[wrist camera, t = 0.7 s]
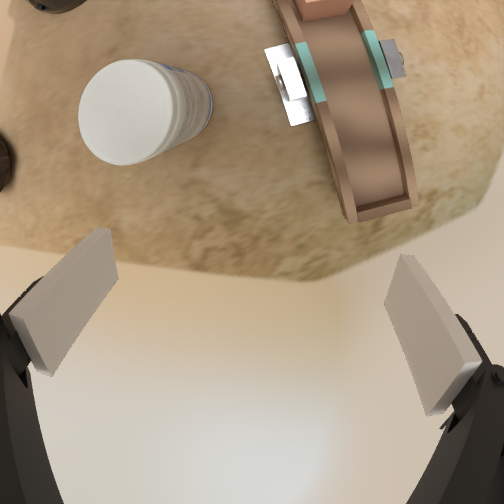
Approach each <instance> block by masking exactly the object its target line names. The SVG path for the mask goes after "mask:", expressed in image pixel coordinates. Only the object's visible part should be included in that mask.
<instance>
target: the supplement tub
mask: <svg viewBox="0 0 504 504" xmlns="http://www.w3.org/2000/svg"><path fill="white" fill-rule="evenodd" d="M212 106H213V102H212V96H211V93H210V90H209V88H208V86H207V85H206V83H205V82H204V81H203V80H202V79H201V78H200V77H199V76H197V75H195V74H194V73H191V72H189V71H186V70H182V69H179V68H176V67H172V66H168V65H165V64H161V63H157V62H153V61H148V60H142V59H129V60H120V61H117V62H114V63H111V64H109V65H107V66H105V67H104V68H102V69H101V70H100V71H99V72H97V73H96V74H95V75H94V76H93V78H92V79H91V80H90V81H89V83H88V84H87V86H86V88H85V90H84V92H83V94H82V97H81V100H80V104H79V110H78V122H79V128H80V132H81V135H82V138H83V140H84V142H85V144H86V145H87V147H88V148H89V149H90V151H91V152H92V153H93V154H94V155H96V156H97V157H98V158H100V159H101V160H103V161H105V162H107V163H110V164H114V165H131V164H135V163H140V162H143V161H146V160H148V159H150V158H153V157H155V156H157V155H159V154H161V153H163V152H165V151H167V150H169V149H171V148H173V147H176V146H178V145H180V144H182V143H184V142H187V141H189V140H191V139H192V138H194V137H195V136H197V135H198V134H199V133H200V132H201V131H202V130H203V129H204V128H205V127H206V125H207V123H208V121H209V119H210V117H211V113H212Z"/></svg>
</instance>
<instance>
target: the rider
mask: <svg viewBox="0 0 504 504" xmlns="http://www.w3.org/2000/svg"><path fill="white" fill-rule="evenodd" d="M293 2H294V4H295V7H296V9H297V11H298V14H299V16H300V18H301V21H302V22H306V21H311V20H316V19H321V18H327V17H332V16H339V15H345V14H346V13H347V11H348V10H349V8H350V6H351V5H352V3H353V2H354V0H293Z"/></svg>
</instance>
